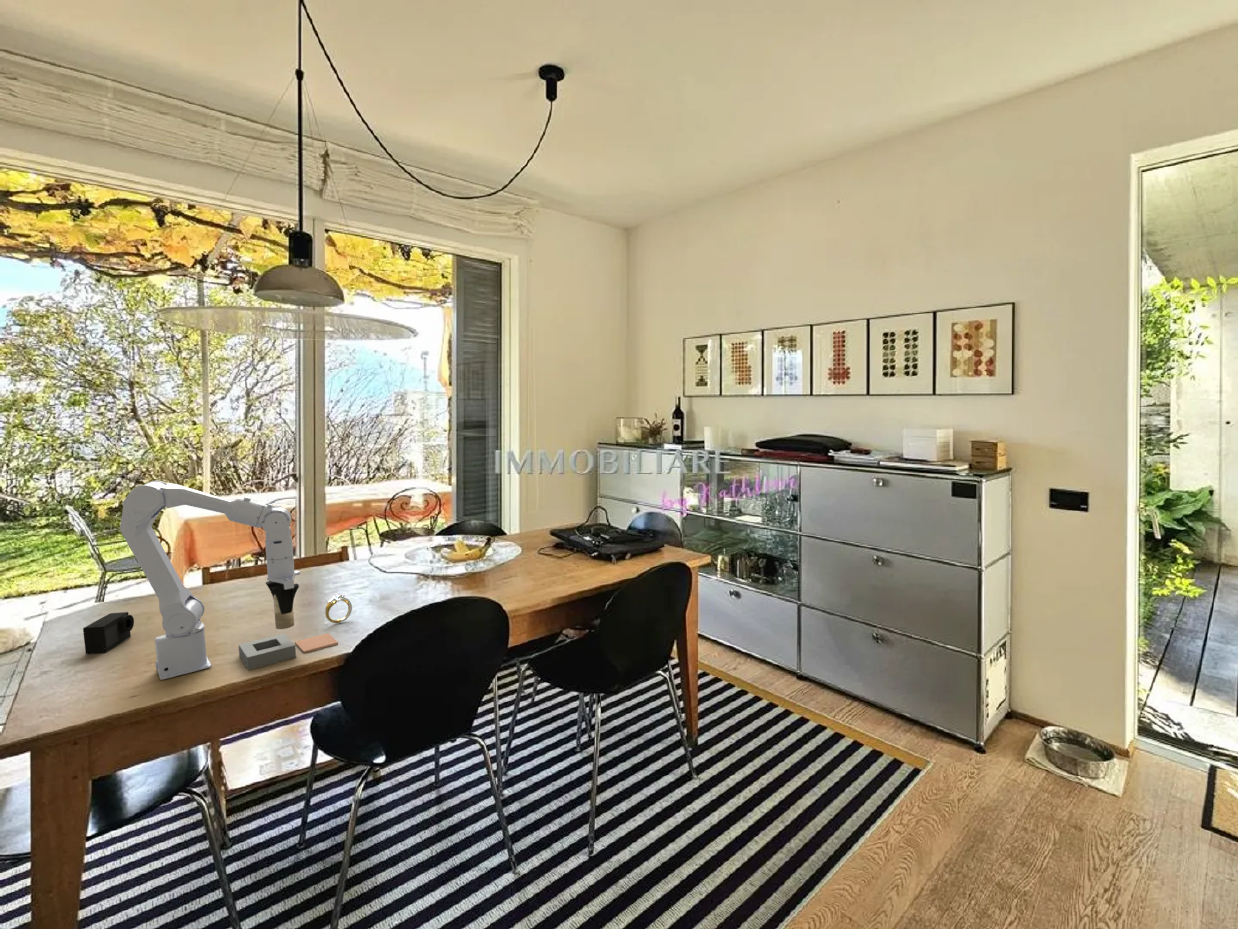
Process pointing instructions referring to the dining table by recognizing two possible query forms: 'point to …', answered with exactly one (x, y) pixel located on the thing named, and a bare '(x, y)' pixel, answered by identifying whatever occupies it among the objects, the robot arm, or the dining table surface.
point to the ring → (335, 599)
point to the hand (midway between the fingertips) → (284, 610)
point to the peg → (282, 617)
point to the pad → (316, 643)
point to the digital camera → (107, 632)
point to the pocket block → (267, 651)
